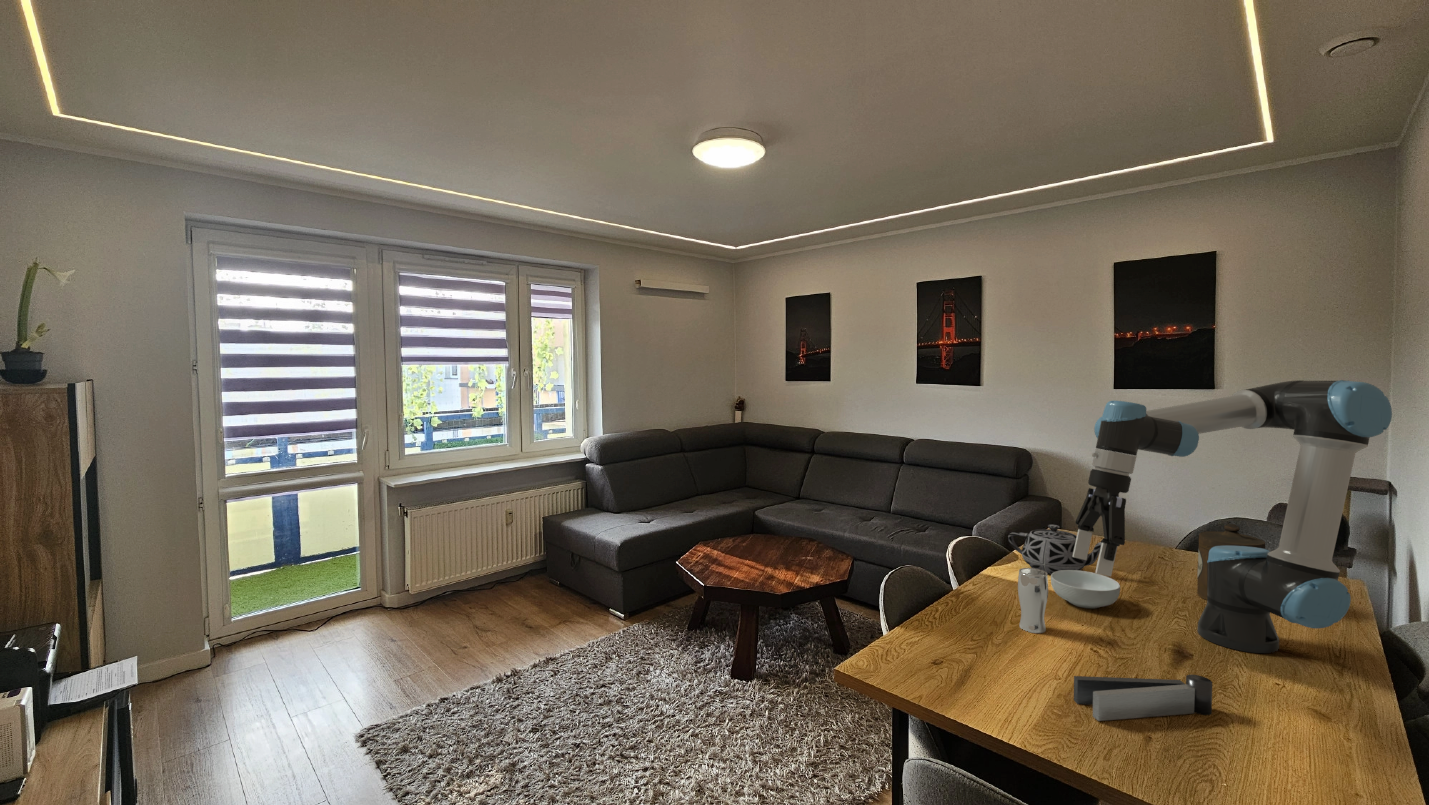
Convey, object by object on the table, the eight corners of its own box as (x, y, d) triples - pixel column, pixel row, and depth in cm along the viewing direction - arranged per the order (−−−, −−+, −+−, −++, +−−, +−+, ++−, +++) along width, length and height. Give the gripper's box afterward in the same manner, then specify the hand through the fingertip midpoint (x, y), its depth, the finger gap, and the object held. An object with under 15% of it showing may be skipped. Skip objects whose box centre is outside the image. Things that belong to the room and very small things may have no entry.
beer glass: (1051, 635, 151) (1052, 577, 151) (1022, 633, 153) (1022, 575, 152) (1042, 624, 158) (1043, 568, 158) (1014, 622, 160) (1014, 567, 159)
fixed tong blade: (1202, 704, 119) (1202, 675, 119) (1216, 715, 116) (1217, 685, 115) (1072, 698, 122) (1073, 670, 122) (1082, 709, 118) (1083, 680, 118)
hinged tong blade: (1187, 709, 117) (1187, 684, 117) (1194, 713, 116) (1194, 688, 116) (1092, 716, 115) (1093, 691, 115) (1098, 721, 114) (1098, 695, 114)
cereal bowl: (1055, 610, 167) (1055, 585, 167) (1046, 590, 183) (1047, 567, 182) (1126, 618, 161) (1127, 592, 161) (1112, 597, 176) (1112, 573, 176)
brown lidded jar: (1218, 587, 182) (1220, 516, 181) (1277, 605, 168) (1279, 528, 167) (1184, 594, 178) (1186, 521, 177) (1242, 612, 164) (1244, 533, 163)
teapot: (1104, 588, 183) (1105, 540, 183) (999, 567, 205) (999, 524, 204) (1116, 572, 197) (1117, 527, 197) (1016, 554, 218) (1017, 513, 218)
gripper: (1072, 462, 143) (1053, 548, 144) (1116, 474, 119) (1093, 577, 120) (1106, 469, 141) (1087, 556, 142) (1158, 482, 117) (1135, 587, 118)
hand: (1090, 566), depth 131 cm, fingers open, 13 cm apart
